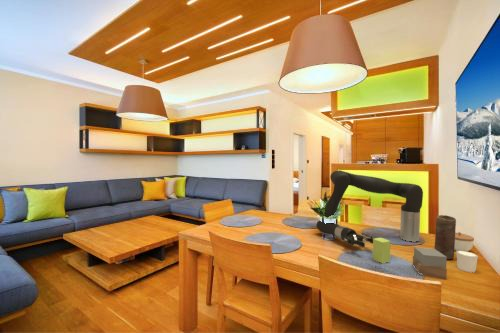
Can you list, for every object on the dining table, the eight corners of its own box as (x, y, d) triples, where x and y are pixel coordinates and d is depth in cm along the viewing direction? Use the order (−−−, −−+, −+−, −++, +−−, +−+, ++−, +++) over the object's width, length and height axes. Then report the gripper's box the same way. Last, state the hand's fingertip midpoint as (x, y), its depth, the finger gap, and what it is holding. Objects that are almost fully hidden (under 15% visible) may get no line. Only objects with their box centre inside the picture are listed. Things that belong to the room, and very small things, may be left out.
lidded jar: (459, 246, 124) (459, 229, 123) (479, 254, 113) (480, 235, 113) (440, 246, 123) (440, 229, 123) (458, 254, 113) (459, 236, 112)
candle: (455, 257, 109) (456, 216, 108) (453, 262, 104) (455, 219, 103) (435, 252, 115) (436, 214, 114) (432, 257, 110) (434, 216, 109)
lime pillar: (372, 259, 107) (373, 238, 107) (380, 257, 109) (380, 237, 108) (382, 264, 102) (382, 242, 102) (389, 262, 104) (390, 241, 104)
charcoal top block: (413, 257, 100) (414, 247, 100) (434, 259, 98) (434, 249, 98) (423, 265, 92) (423, 255, 92) (446, 267, 90) (446, 256, 90)
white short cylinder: (466, 265, 101) (466, 250, 101) (482, 273, 94) (482, 256, 94) (451, 265, 101) (451, 250, 101) (466, 273, 94) (467, 257, 94)
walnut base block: (412, 266, 101) (412, 256, 101) (437, 269, 98) (437, 259, 98) (419, 275, 93) (419, 265, 93) (446, 280, 89) (446, 269, 89)
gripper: (335, 228, 123) (360, 238, 108) (354, 225, 128) (380, 234, 113) (335, 242, 123) (359, 253, 108) (354, 238, 129) (380, 249, 114)
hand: (370, 243), depth 111 cm, fingers open, 8 cm apart
